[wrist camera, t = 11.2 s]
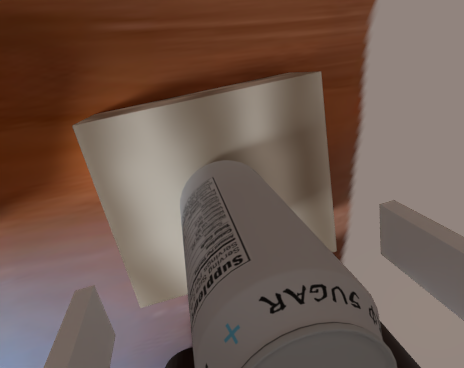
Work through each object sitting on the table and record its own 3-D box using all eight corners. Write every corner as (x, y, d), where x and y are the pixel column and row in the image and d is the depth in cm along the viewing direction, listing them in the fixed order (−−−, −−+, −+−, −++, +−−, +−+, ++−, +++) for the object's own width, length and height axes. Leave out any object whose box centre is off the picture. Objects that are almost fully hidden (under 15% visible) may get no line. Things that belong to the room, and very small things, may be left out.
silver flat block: (145, 264, 29) (140, 307, 24) (94, 114, 24) (72, 125, 19) (306, 220, 31) (336, 251, 26) (288, 72, 26) (321, 71, 21)
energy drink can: (245, 245, 24) (356, 484, 10) (167, 225, 22) (167, 480, 8) (276, 172, 22) (458, 330, 8) (196, 144, 21) (256, 285, 7)
